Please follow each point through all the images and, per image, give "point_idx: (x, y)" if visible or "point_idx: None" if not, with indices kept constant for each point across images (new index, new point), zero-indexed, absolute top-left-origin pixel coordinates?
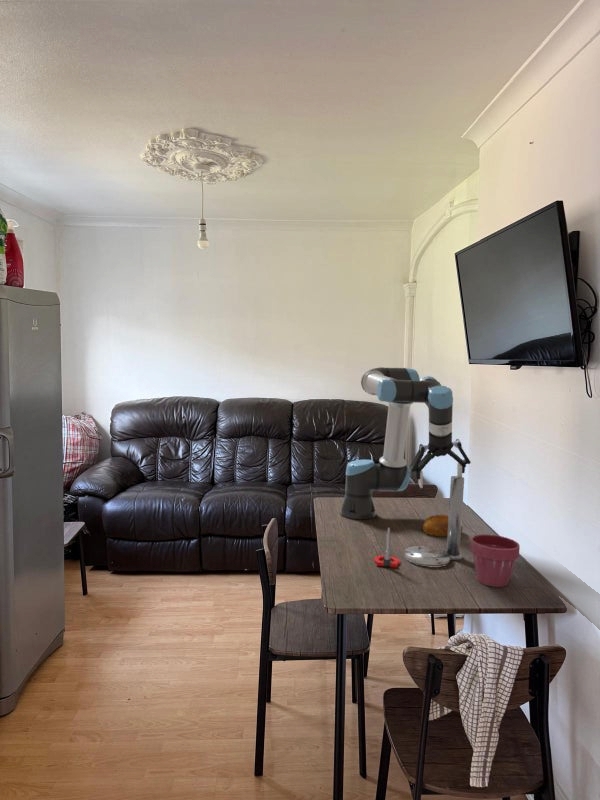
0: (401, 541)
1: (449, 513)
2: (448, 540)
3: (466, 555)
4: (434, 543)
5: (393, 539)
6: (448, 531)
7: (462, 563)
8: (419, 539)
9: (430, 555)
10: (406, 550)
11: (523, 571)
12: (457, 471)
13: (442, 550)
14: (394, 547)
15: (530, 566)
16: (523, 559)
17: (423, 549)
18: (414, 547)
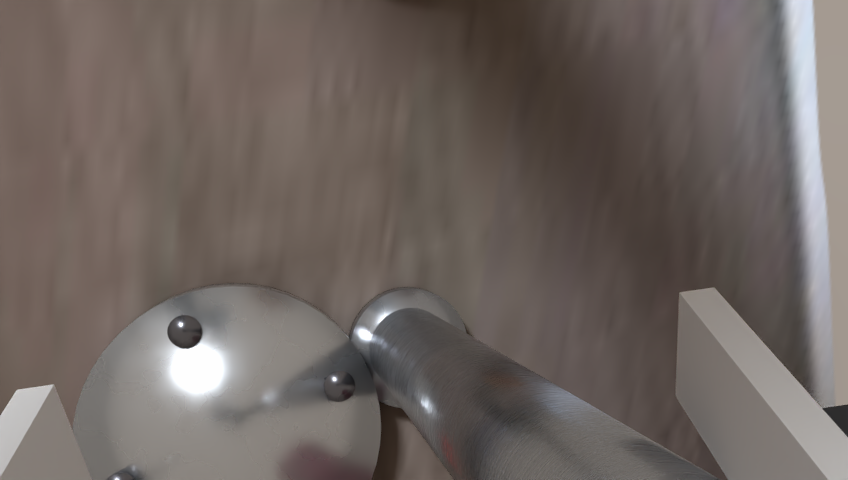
0: (78, 96)
1: (429, 440)
2: (389, 390)
3: (496, 289)
4: (322, 95)
5: (16, 60)
6: (398, 398)
7: None
8: (222, 25)
9: (251, 467)
10: (85, 412)
11: None
12: (746, 386)
13: (345, 346)
14: (16, 241)
15: (803, 383)
16: (797, 279)
17: (214, 359)
18: (151, 333)
